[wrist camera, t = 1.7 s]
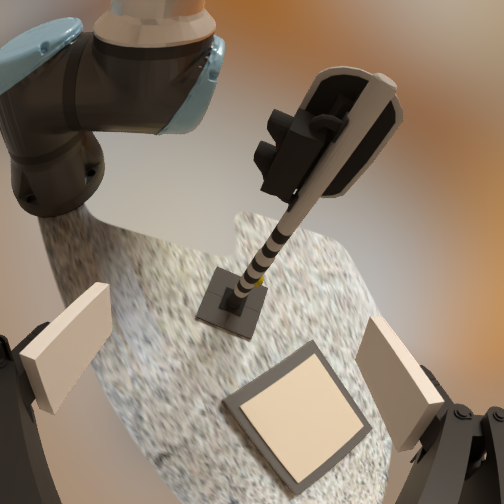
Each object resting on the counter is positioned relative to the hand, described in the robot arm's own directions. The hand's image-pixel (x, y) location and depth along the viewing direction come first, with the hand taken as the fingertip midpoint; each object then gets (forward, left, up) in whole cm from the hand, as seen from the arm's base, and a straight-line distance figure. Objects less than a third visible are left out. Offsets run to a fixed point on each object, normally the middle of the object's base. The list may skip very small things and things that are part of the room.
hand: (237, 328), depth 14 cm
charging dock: (+12, +7, -20) cm, 25 cm away
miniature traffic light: (-5, +8, -20) cm, 22 cm away
